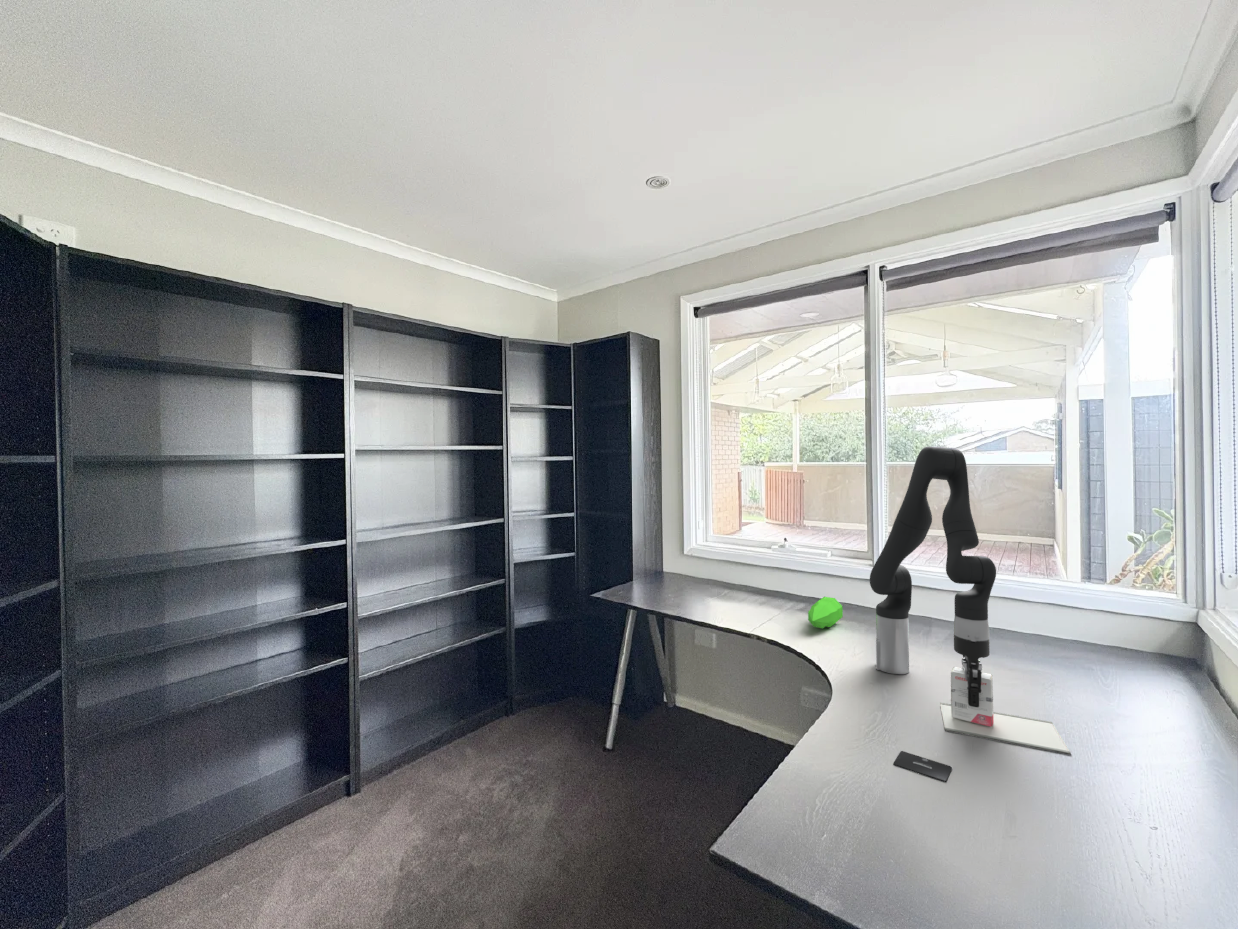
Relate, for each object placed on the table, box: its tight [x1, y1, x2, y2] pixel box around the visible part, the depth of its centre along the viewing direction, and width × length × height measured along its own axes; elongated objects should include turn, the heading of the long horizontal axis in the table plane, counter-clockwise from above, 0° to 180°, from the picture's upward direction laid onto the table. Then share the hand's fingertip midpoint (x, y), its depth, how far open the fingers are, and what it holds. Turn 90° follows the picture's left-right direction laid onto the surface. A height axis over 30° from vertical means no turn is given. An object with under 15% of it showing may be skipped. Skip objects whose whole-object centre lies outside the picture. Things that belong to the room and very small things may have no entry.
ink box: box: [950, 666, 994, 727], centre depth 132 cm, size 9×5×12 cm, turn 50°
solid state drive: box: [892, 750, 953, 783], centre depth 113 cm, size 7×10×1 cm
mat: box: [939, 702, 1072, 756], centre depth 130 cm, size 24×16×1 cm, turn 62°
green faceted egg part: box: [807, 596, 844, 629], centre depth 211 cm, size 11×12×30 cm
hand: (971, 701), depth 132 cm, fingers closed on ink box, 5 cm apart
